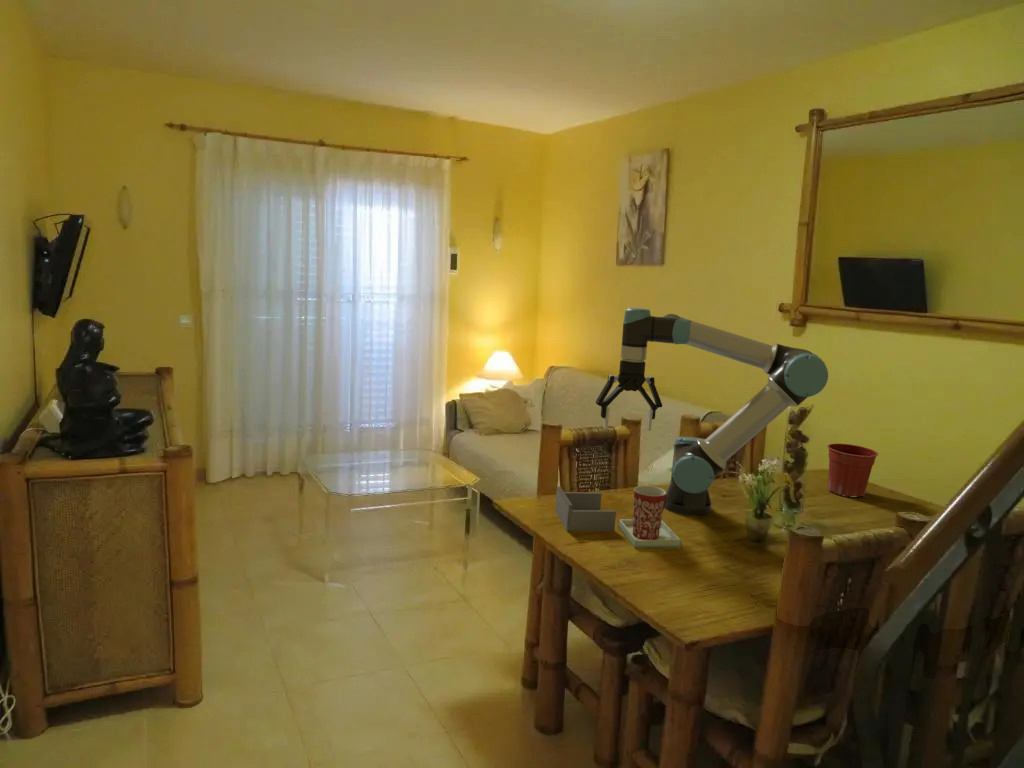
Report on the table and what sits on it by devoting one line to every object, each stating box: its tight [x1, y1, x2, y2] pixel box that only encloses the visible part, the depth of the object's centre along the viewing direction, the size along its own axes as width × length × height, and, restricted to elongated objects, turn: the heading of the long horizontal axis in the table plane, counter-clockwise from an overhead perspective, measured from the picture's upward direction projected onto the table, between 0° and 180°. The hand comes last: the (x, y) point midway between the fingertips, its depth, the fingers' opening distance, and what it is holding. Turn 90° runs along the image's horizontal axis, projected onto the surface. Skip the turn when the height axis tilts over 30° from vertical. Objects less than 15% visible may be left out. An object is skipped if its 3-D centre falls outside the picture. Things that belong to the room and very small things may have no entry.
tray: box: [617, 518, 682, 549], centre depth 208 cm, size 13×16×2 cm
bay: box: [554, 486, 617, 532], centre depth 217 cm, size 14×17×8 cm
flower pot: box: [827, 443, 879, 496], centre depth 260 cm, size 16×16×16 cm
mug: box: [632, 485, 667, 540], centre depth 207 cm, size 13×9×14 cm
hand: (626, 429), depth 222 cm, fingers open, 13 cm apart
